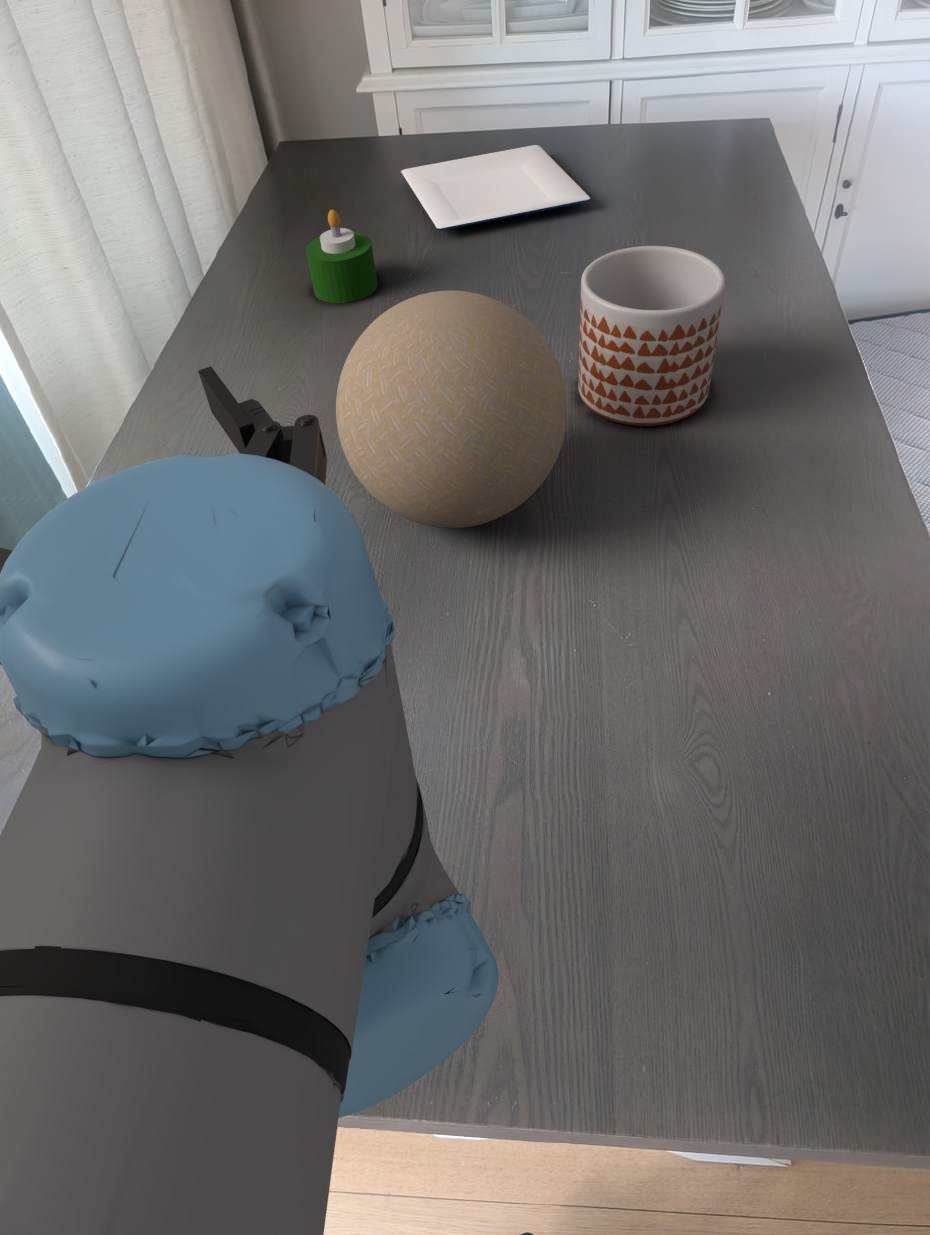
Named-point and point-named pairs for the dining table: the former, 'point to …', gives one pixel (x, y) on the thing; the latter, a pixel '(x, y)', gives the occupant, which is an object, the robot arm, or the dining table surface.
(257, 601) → the robot arm
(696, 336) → the planter
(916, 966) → the dining table surface
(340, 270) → the candle
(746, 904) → the dining table surface
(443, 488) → the decorative sphere
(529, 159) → the plate
